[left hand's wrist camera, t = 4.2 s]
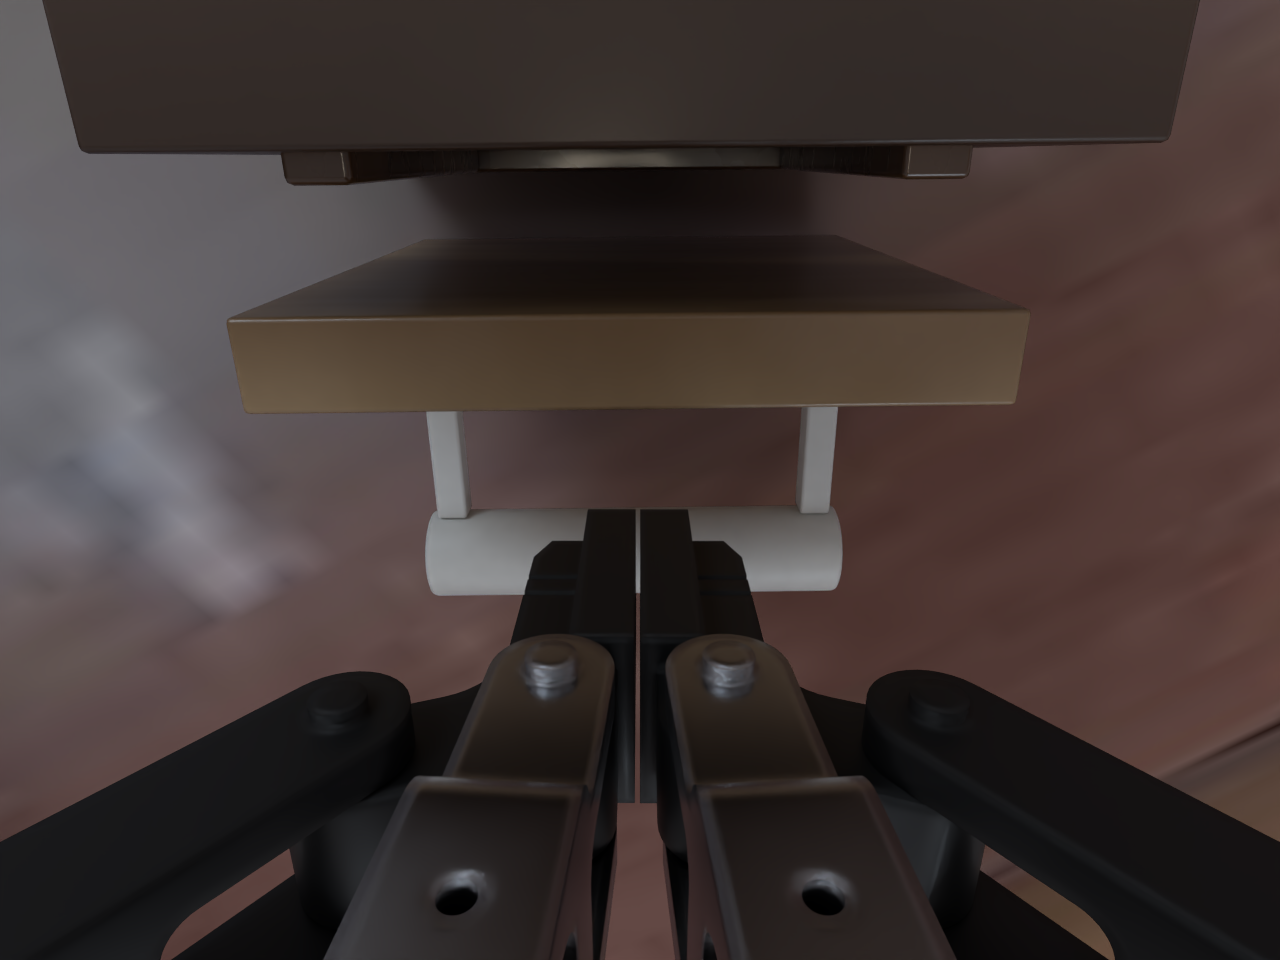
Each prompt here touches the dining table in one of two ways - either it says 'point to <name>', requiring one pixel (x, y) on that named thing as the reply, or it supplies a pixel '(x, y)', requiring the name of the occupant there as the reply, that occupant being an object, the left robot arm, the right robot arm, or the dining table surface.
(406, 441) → the dining table surface
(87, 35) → the cabinet
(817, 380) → the drawer
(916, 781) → the left robot arm
